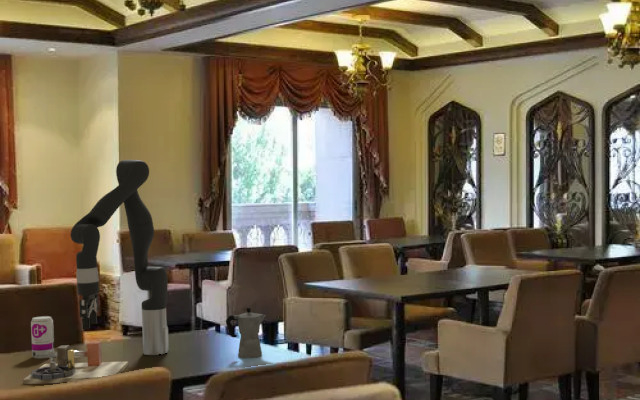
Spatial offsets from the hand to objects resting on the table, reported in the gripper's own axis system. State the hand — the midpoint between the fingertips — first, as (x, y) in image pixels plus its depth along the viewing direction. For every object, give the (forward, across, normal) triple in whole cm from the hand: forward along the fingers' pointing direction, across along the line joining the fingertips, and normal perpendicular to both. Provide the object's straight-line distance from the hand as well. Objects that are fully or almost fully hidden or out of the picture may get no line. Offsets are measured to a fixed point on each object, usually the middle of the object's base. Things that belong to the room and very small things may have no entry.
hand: (90, 326), depth 314 cm
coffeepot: (+17, +19, -53) cm, 58 cm away
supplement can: (+16, +25, +27) cm, 40 cm away
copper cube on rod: (+14, +1, +7) cm, 16 cm away
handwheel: (+14, -13, +10) cm, 21 cm away
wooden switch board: (+15, -7, +3) cm, 17 cm away
